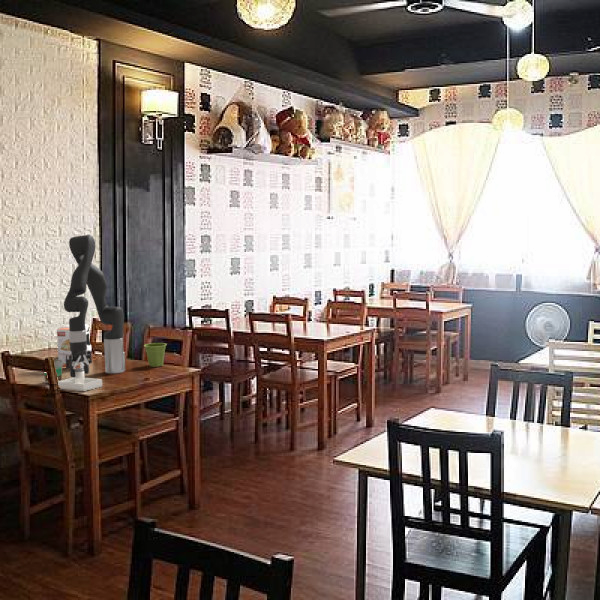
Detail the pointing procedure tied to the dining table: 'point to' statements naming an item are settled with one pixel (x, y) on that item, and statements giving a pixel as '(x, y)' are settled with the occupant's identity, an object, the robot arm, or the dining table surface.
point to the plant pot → (155, 353)
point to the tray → (88, 385)
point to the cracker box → (65, 346)
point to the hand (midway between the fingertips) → (79, 375)
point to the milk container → (86, 335)
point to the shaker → (79, 376)
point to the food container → (58, 367)
